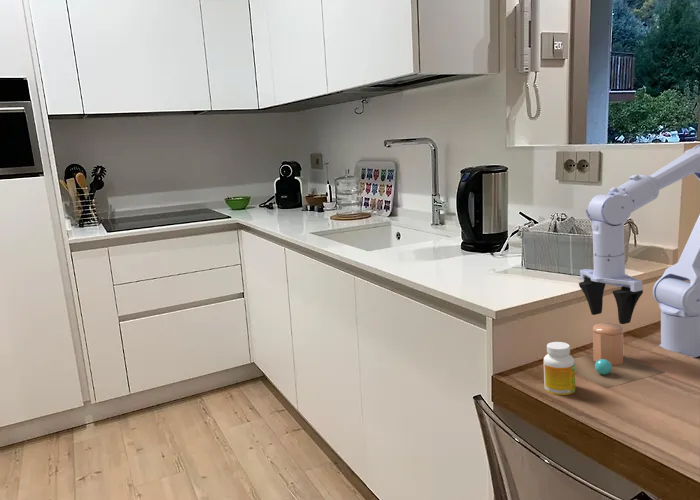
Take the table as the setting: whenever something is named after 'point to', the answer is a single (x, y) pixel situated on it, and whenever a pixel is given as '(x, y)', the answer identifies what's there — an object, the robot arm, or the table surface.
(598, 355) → the faceted octagonal canister
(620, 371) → the walnut board
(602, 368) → the teal ball
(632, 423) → the table surface
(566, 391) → the supplement bottle
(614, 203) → the robot arm
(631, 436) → the table surface
